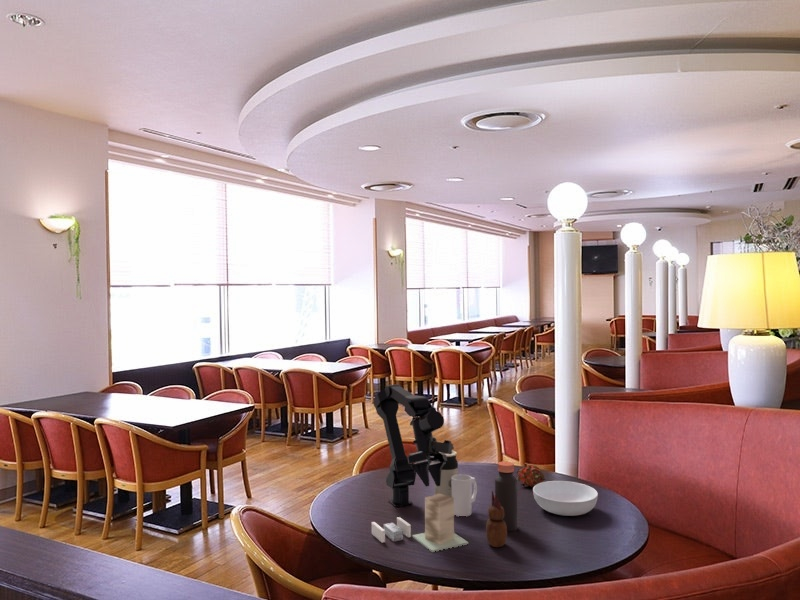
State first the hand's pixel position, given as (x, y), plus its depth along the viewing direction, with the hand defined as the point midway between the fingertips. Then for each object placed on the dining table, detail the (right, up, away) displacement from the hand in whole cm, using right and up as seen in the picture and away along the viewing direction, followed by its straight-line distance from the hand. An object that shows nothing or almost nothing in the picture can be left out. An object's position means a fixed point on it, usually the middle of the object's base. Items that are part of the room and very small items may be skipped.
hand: (433, 486), depth 193 cm
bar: (-12, -13, -7) cm, 19 cm away
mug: (+11, -13, +12) cm, 21 cm away
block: (+1, -12, -10) cm, 16 cm away
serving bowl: (+44, -12, +13) cm, 48 cm away
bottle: (+22, -13, -1) cm, 26 cm away
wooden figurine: (+18, -13, -14) cm, 26 cm away
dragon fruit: (+38, -12, +39) cm, 56 cm away
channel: (-13, -13, -6) cm, 19 cm away
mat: (+1, -13, -10) cm, 17 cm away
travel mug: (+6, -12, +20) cm, 24 cm away
